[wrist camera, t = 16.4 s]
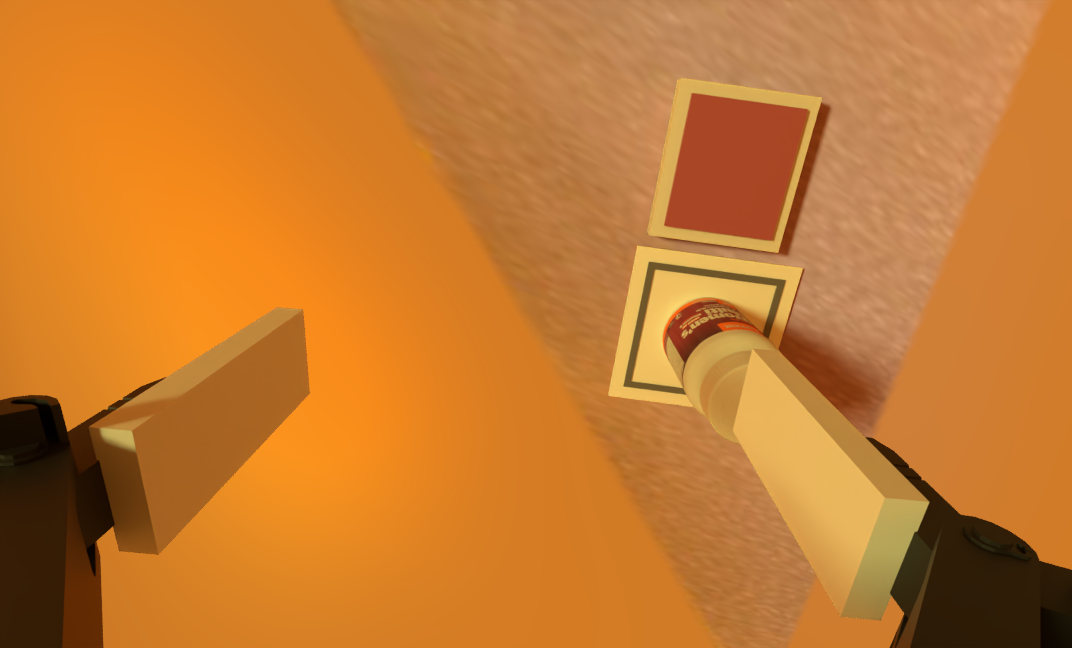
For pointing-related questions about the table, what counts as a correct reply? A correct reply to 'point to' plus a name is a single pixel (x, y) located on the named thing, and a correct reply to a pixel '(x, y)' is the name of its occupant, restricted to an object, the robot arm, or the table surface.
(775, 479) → the robot arm
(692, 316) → the pill bottle
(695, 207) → the pad
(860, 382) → the table surface
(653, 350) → the paper sheet
